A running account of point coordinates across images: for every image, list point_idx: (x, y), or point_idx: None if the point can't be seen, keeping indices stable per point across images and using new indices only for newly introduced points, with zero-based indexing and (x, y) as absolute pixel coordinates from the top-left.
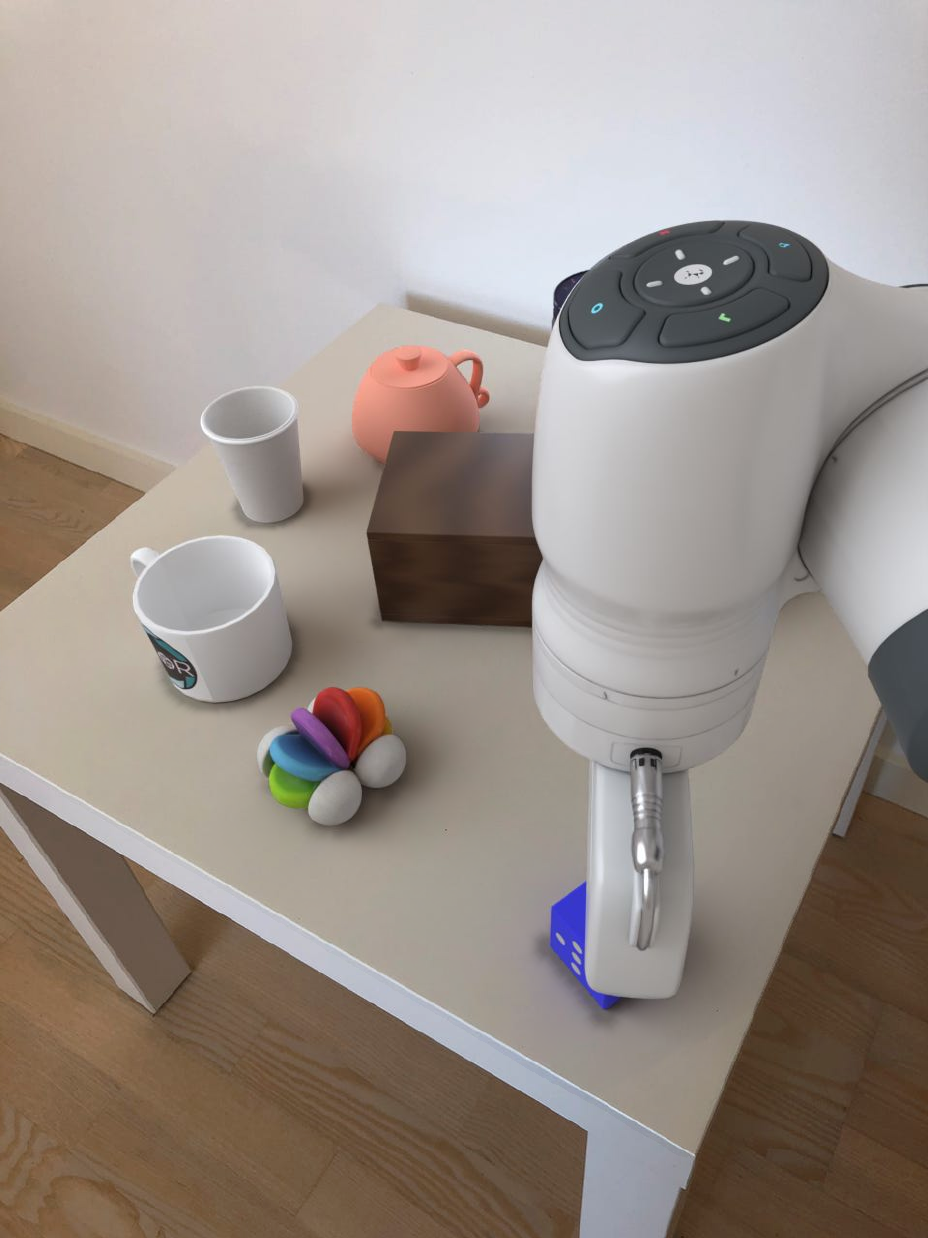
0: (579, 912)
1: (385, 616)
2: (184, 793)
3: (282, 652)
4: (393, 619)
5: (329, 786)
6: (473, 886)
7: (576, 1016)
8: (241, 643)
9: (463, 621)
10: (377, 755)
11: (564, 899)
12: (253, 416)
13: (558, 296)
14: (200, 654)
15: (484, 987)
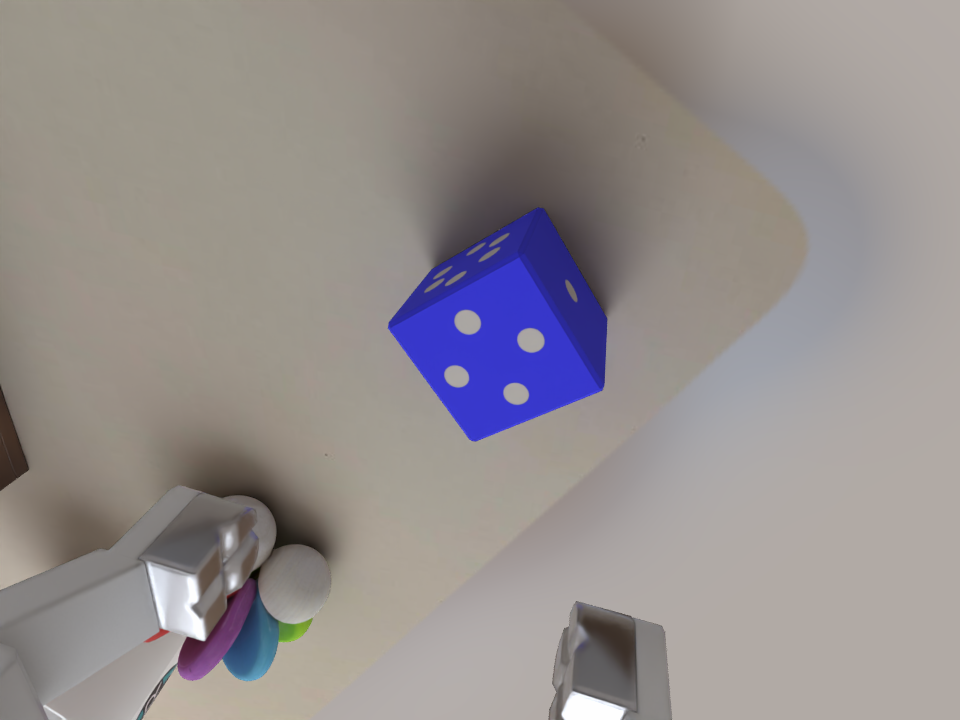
0: (484, 407)
1: (18, 471)
2: (300, 660)
3: None
4: (20, 459)
5: (284, 615)
6: (406, 440)
7: (607, 357)
8: (101, 682)
9: None
10: None
11: (459, 422)
12: None
13: None
14: (129, 713)
15: (546, 454)
